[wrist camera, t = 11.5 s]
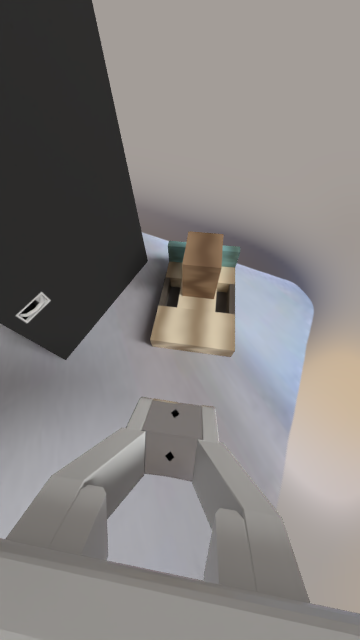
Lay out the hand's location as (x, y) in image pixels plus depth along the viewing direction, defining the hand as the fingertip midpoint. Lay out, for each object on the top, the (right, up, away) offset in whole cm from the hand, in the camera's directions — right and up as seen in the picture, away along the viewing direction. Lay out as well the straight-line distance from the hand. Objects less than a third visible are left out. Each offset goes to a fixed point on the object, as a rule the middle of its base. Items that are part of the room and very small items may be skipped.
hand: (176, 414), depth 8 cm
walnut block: (+4, +12, +30) cm, 32 cm away
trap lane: (+4, +7, +30) cm, 31 cm away
